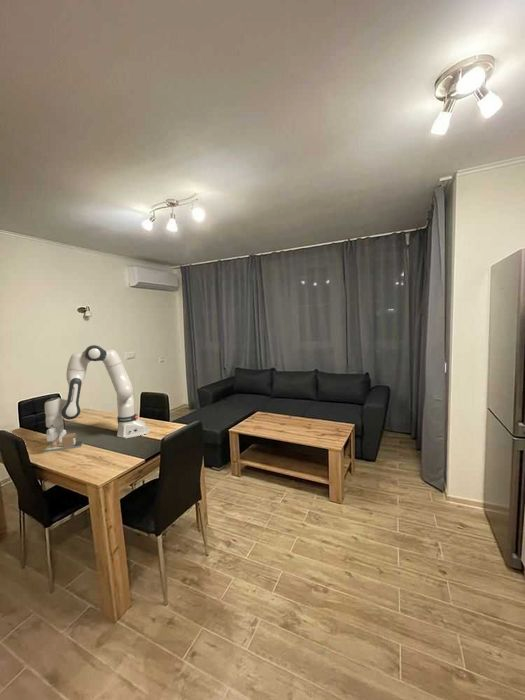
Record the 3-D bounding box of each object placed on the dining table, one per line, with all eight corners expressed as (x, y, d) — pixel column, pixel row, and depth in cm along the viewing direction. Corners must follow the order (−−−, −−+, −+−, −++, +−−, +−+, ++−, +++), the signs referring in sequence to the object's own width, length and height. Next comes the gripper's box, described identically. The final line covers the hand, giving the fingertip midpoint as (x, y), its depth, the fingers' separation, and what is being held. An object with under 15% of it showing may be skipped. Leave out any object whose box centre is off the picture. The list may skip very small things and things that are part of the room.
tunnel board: (83, 442, 197) (82, 431, 196) (80, 447, 190) (79, 436, 189) (48, 447, 190) (47, 435, 190) (44, 452, 183) (43, 440, 182)
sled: (75, 442, 194) (75, 434, 193) (74, 444, 190) (73, 437, 190) (54, 445, 190) (54, 437, 189) (52, 447, 186) (51, 439, 186)
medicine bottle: (67, 440, 202) (65, 423, 201) (55, 443, 196) (54, 426, 195) (62, 437, 206) (61, 421, 205) (51, 441, 200) (49, 424, 199)
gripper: (54, 427, 178) (56, 448, 180) (64, 417, 197) (66, 436, 199) (42, 428, 176) (44, 450, 177) (54, 418, 195) (55, 438, 197)
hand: (56, 443), depth 188 cm, fingers closed on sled, 3 cm apart
